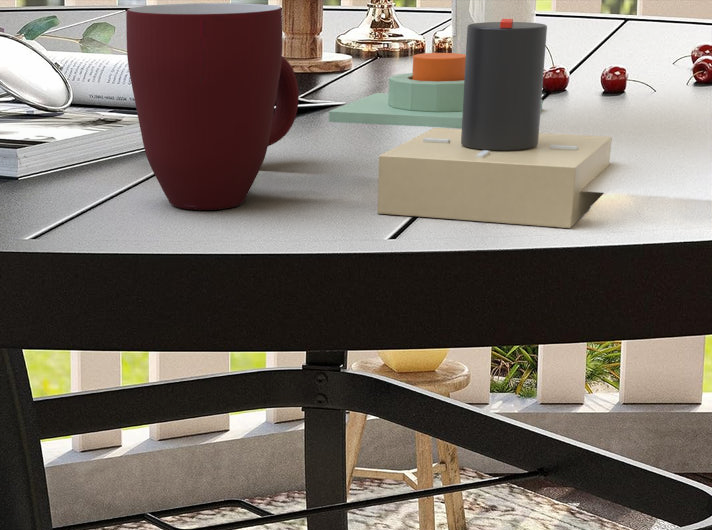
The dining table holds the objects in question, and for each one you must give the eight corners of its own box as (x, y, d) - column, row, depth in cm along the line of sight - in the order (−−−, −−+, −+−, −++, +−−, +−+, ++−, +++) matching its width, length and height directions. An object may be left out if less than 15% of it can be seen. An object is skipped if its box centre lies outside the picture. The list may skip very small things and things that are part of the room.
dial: (463, 137, 76) (470, 15, 74) (538, 139, 75) (548, 15, 73) (458, 149, 73) (465, 21, 70) (537, 151, 72) (547, 22, 69)
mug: (226, 177, 83) (225, -2, 79) (337, 193, 78) (342, 3, 74) (101, 206, 76) (92, 10, 72) (215, 225, 71) (213, 16, 67)
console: (606, 192, 77) (612, 133, 76) (570, 228, 69) (576, 163, 68) (431, 180, 81) (433, 124, 80) (376, 213, 73) (379, 151, 72)
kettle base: (540, 132, 97) (545, 72, 96) (506, 155, 89) (510, 89, 87) (375, 124, 102) (377, 66, 100) (328, 144, 93) (329, 82, 92)
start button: (472, 80, 95) (474, 53, 94) (458, 86, 92) (459, 59, 91) (420, 78, 96) (422, 52, 95) (405, 85, 93) (406, 57, 92)
